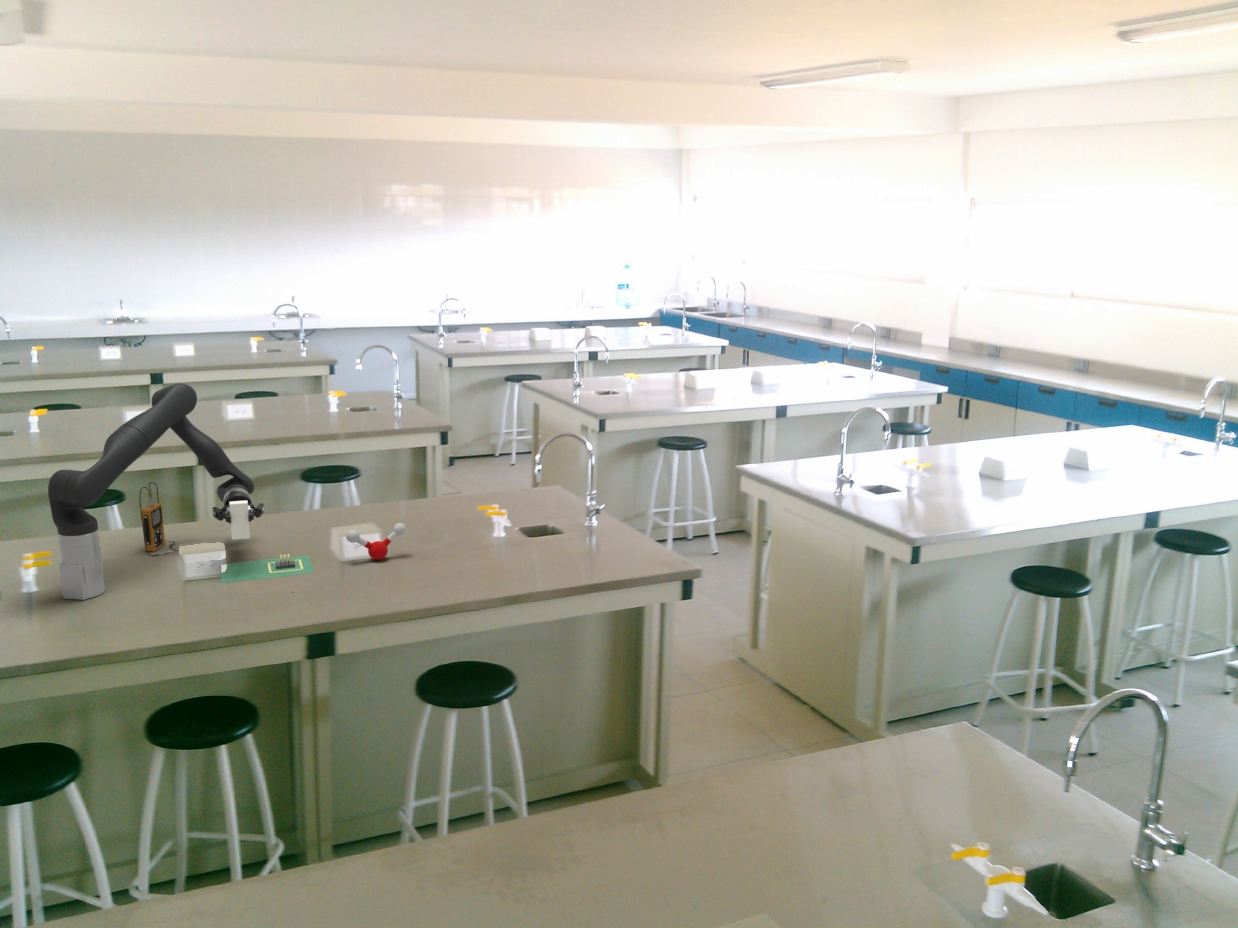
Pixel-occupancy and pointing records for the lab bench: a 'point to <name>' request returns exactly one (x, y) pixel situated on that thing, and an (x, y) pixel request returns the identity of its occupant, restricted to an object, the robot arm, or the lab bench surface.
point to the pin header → (285, 563)
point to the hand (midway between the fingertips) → (239, 518)
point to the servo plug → (239, 520)
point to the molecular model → (377, 548)
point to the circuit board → (264, 569)
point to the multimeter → (153, 525)
